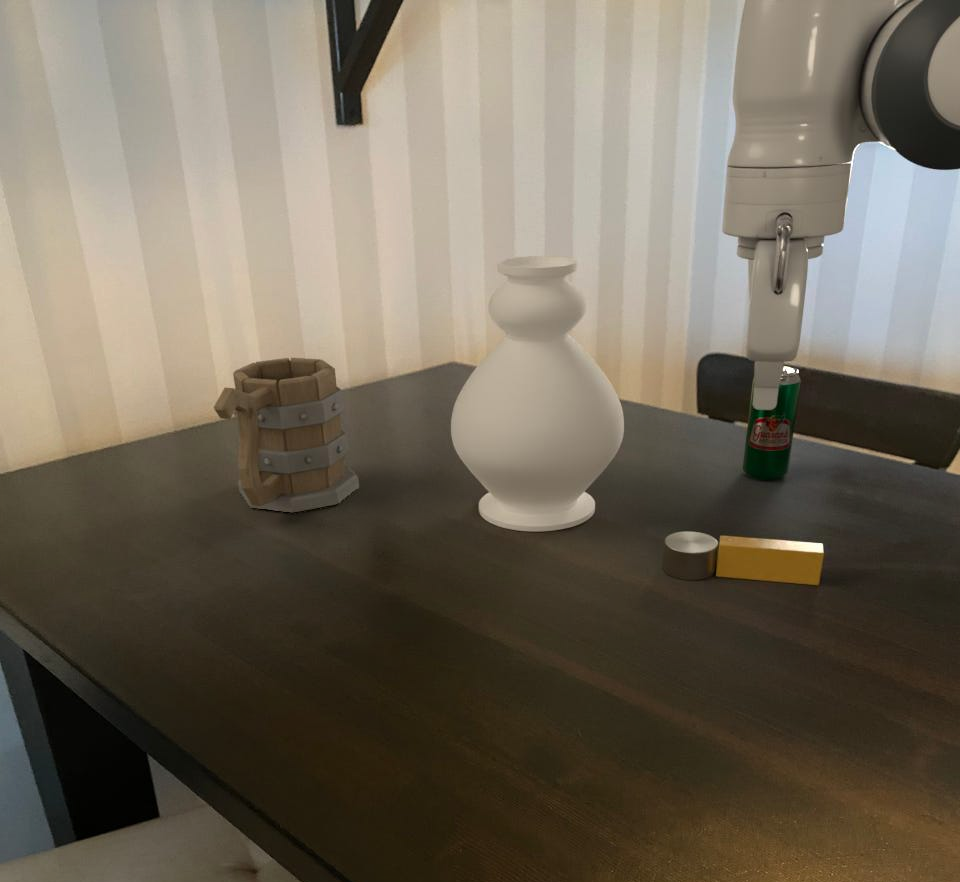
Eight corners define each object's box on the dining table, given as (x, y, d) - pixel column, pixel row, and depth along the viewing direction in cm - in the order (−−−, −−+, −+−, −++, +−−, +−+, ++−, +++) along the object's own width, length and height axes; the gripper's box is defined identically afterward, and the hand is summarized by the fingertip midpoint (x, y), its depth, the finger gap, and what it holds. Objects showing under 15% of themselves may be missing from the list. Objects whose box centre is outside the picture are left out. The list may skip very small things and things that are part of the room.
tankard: (279, 468, 114) (261, 343, 106) (373, 478, 110) (361, 348, 103) (183, 531, 98) (154, 389, 90) (289, 545, 94) (268, 398, 87)
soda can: (741, 480, 106) (754, 375, 100) (741, 465, 110) (754, 363, 104) (788, 483, 105) (803, 376, 99) (786, 468, 109) (801, 364, 103)
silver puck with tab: (816, 569, 86) (822, 537, 85) (819, 592, 82) (825, 559, 81) (665, 556, 90) (667, 525, 88) (660, 577, 86) (662, 546, 84)
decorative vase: (640, 491, 104) (654, 251, 92) (587, 553, 90) (596, 281, 78) (495, 471, 111) (490, 246, 98) (425, 527, 97) (410, 272, 85)
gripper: (836, 223, 60) (808, 431, 67) (822, 192, 77) (801, 361, 84) (736, 225, 62) (719, 428, 69) (743, 194, 79) (729, 360, 86)
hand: (764, 390), depth 77 cm, fingers open, 8 cm apart
